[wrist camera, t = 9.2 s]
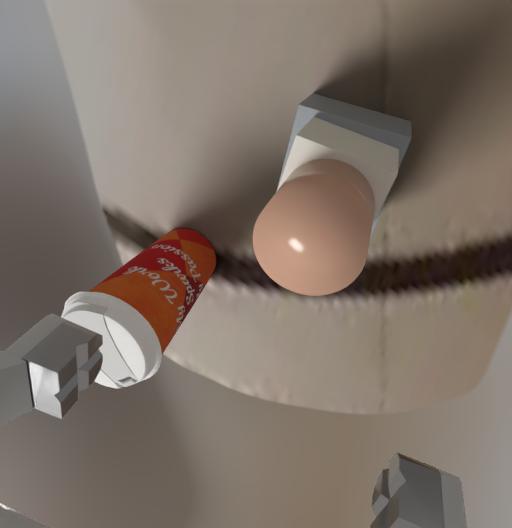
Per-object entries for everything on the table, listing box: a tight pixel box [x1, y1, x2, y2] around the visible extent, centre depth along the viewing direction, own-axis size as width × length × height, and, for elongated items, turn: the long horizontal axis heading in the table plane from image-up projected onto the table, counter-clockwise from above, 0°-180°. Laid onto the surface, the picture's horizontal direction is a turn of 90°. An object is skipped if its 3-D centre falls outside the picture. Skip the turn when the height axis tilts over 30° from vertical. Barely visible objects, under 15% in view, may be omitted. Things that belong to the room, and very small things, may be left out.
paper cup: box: [61, 228, 216, 388], centre depth 34 cm, size 8×8×14 cm
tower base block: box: [276, 93, 412, 237], centre depth 29 cm, size 7×7×5 cm
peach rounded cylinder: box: [253, 159, 375, 296], centre depth 21 cm, size 5×5×5 cm
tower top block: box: [277, 117, 399, 222], centre depth 25 cm, size 6×6×5 cm
